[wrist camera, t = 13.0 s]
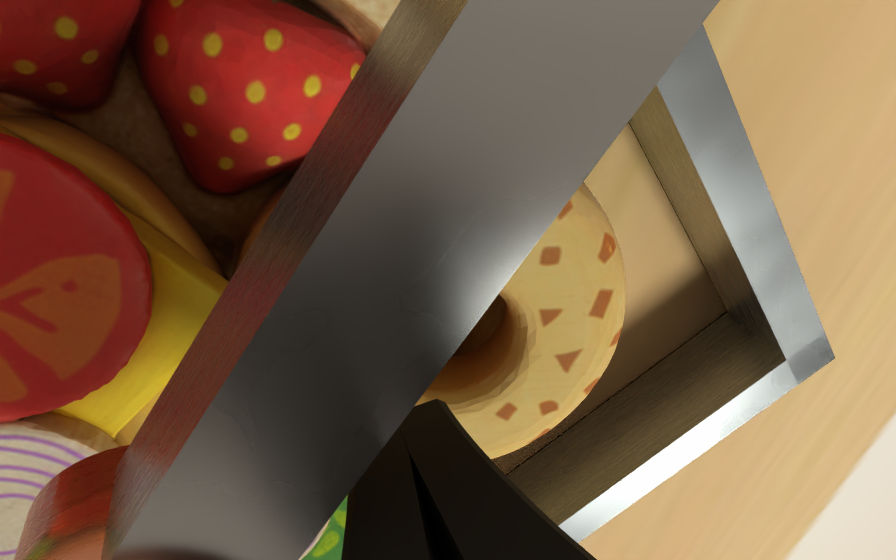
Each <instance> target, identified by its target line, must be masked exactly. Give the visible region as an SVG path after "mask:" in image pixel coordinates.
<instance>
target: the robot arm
mask: <svg viewBox="0 0 896 560" xmlns="http://www.w3.org/2000/svg"><path fill="white" fill-rule="evenodd" d="M341 560H597V559H596V558H594V557H593V556H592V555H591V554H590V553H588V552H587V551H586V550H585V549H584V548H583V547H582V546H580V545H579V544H578V543H577V542H576V541H575V540H574V539H572V538H571V537H570V536H569V535H568V534H567V533H566V532H564V531H563V530H562V529H561V528H560V527H559V526H558V525H557V524H556V523H554V522H553V521H552V520H551V519H550V518H549V517H548V516H547V515H546V514H545V513H544V512H543V511H541V510H540V509H539V508H538V507H537V506H536V505H535V504H534V503H533V502H532V501H531V500H530V499H529V498H528V497H527V496H526V495H525V494H524V493H523V492H522V491H521V490H520V489H519V488H518V487H517V486H516V485H515V484H514V483H513V482H512V481H511V480H510V479H509V478H508V477H507V476H506V475H505V474H504V473H503V472H502V471H501V470H500V469H499V468H498V467H497V466H496V465H495V463H494V462H493V461H492V460H491V459H490V458H489V457H488V456H487V455H486V453H485V452H484V451H483V450H482V449H481V448H480V447H479V446H478V444H477V443H476V442H475V441H474V440H473V439H472V437H471V436H470V435H469V434H468V433H467V431H466V430H465V429H464V428H463V426H462V425H461V424H460V422H459V421H458V420H457V418H456V417H455V416H454V414H453V413H452V412H451V410H450V409H449V407H448V406H447V404H446V402H444V401H441V400H439V399H434V400H431V401H428V402H425V403H422V404H419V405H416V406H414V407H413V408H412V410H411V411H410V412H409V414H408V415H407V416H406V418H405V419H404V420H403V422H402V423H401V424H400V426H399V427H398V428H397V430H396V431H395V432H394V434H393V435H392V436H391V438H390V439H389V440H388V442H387V443H386V444H385V446H384V447H383V448H382V450H381V451H380V452H379V454H378V455H377V456H376V458H375V459H374V460H373V462H372V463H371V464H370V466H369V467H368V468H367V470H366V471H365V472H364V474H363V475H362V476H361V478H360V479H359V480H358V482H357V483H356V484H355V486H354V487H353V488H352V490H351V491H350V492H349V493H348V497H347V512H346V522H345V531H344V540H343V548H342V557H341Z"/></svg>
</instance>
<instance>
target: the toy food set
mask: <svg viewBox="0 0 896 560" xmlns="http://www.w3.org/2000/svg"><path fill="white" fill-rule="evenodd" d="M400 1H401V0H0V560H14V557H15V554H16V551H17V547H18V544H19V541H20V537H21V534H22V531H23V527H24V524H25V521H26V518H27V514H28V511H29V509H30V507H31V505H32V503H33V501H34V499H35V498H36V496H37V495H38V494H39V492H40V491H41V490H42V489H43V488H44V487H45V485H46V484H47V483H48V482H49V481H50V480H51V479H53V478H54V477H55V476H56V475H58V474H59V473H60V472H61V471H63V470H65V469H66V468H68V467H69V466H71V465H73V464H74V463H76V462H78V461H80V460H82V459H84V458H87V457H89V456H91V455H94V454H97V453H99V452H102V451H105V450H109V449H112V448H116V447H120V446H126V445H130V444H131V442H132V441H133V439H134V437H135V436H136V434H137V432H138V431H139V429H140V427H141V426H142V424H143V422H144V421H145V419H146V418H147V416H148V414H149V413H150V411H151V409H152V408H153V406H154V404H155V403H156V401H157V400H158V398H159V396H160V395H161V393H162V391H163V390H164V388H165V386H166V385H167V383H168V381H169V380H170V378H171V377H172V375H173V373H174V372H175V370H176V368H177V367H178V365H179V363H180V362H181V360H182V358H183V357H184V355H185V354H186V352H187V350H188V349H189V347H190V345H191V344H192V342H193V340H194V339H195V337H196V335H197V334H198V332H199V331H200V329H201V327H202V326H203V324H204V322H205V321H206V319H207V317H208V316H209V314H210V313H211V311H212V309H213V308H214V306H215V304H216V303H217V301H218V299H219V298H220V296H221V294H222V293H223V291H224V290H225V288H226V286H227V285H228V283H229V281H230V280H231V278H232V276H233V275H234V273H235V271H236V270H237V268H238V267H239V265H240V263H241V262H242V260H243V258H244V257H245V255H246V253H247V252H248V250H249V248H250V247H251V245H252V244H253V242H254V240H255V239H256V237H257V235H258V234H259V232H260V230H261V229H262V227H263V225H264V224H265V222H266V221H267V219H268V217H269V216H270V214H271V212H272V211H273V209H274V207H275V206H276V204H277V203H278V201H279V199H280V198H281V196H282V194H283V193H284V191H285V189H286V188H287V186H288V184H289V183H290V181H291V180H292V178H293V176H294V175H295V173H296V171H297V170H298V168H299V166H300V165H301V163H302V161H303V160H304V158H305V157H306V155H307V153H308V152H309V150H310V148H311V147H312V145H313V143H314V142H315V140H316V138H317V137H318V135H319V134H320V132H321V130H322V129H323V127H324V125H325V124H326V122H327V120H328V119H329V117H330V116H331V114H332V112H333V111H334V109H335V107H336V106H337V104H338V102H339V101H340V99H341V97H342V96H343V94H344V93H345V91H346V89H347V88H348V86H349V84H350V83H351V81H352V79H353V78H354V76H355V74H356V73H357V71H358V70H359V68H360V66H361V65H362V63H363V61H364V60H365V58H366V56H367V55H368V53H369V51H370V50H371V48H372V47H373V45H374V43H375V42H376V40H377V38H378V37H379V35H380V33H381V32H382V30H383V28H384V27H385V25H386V24H387V22H388V20H389V19H390V17H391V15H392V14H393V12H394V10H395V9H396V7H397V6H398V4H399V2H400ZM625 307H626V280H625V271H624V265H623V260H622V255H621V250H620V247H619V244H618V242H617V239H616V236H615V234H614V231H613V228H612V226H611V224H610V222H609V220H608V217H607V215H606V214H605V212H604V211H603V209H602V207H601V206H600V204H599V203H598V201H597V200H596V198H595V197H594V196H593V194H592V193H591V191H590V190H589V189H588V187H587V186H586V185H585V183H584V182H583V183H582V184H581V185H580V187H579V188H578V189H577V191H576V192H575V193H574V195H573V196H572V197H571V199H570V200H569V201H568V203H567V204H566V205H565V207H564V208H563V209H562V211H561V212H560V213H559V214H558V216H557V217H556V218H555V220H554V221H553V222H552V224H551V225H550V226H549V228H548V229H547V230H546V232H545V233H544V234H543V236H542V237H541V238H540V240H539V241H538V242H537V244H536V245H535V246H534V248H533V249H532V250H531V252H530V253H529V254H528V256H527V257H526V258H525V260H524V261H523V262H522V264H521V265H520V266H519V268H518V269H517V270H516V272H515V273H514V274H513V276H512V277H511V278H510V280H509V281H508V282H507V284H506V285H505V286H504V288H503V289H502V290H501V292H500V293H499V294H498V296H497V297H496V298H495V300H494V301H493V302H492V304H491V305H490V306H489V307H488V309H487V310H486V311H485V313H484V314H483V315H482V317H481V318H480V319H479V321H478V322H477V323H476V325H475V326H474V327H473V329H472V330H471V331H470V333H469V334H468V335H467V337H466V338H465V339H464V341H463V342H462V343H461V345H460V346H459V347H458V349H457V350H456V351H455V353H454V354H453V355H452V357H451V358H450V359H449V361H448V362H447V363H446V365H445V366H444V367H443V369H442V370H441V371H440V373H439V374H438V375H437V377H436V378H435V379H434V381H433V382H432V383H431V385H430V386H429V387H428V389H427V390H426V391H425V393H424V394H423V395H422V397H421V398H420V399H419V400H418V402H417V403H416V404H415V406H416V405H419V404H422V403H425V402H428V401H431V400H434V399H439V400H441V401H444V402H446V404H447V406H448V407H449V409H450V410H451V412H452V413H453V414H454V416H455V417H456V418H457V420H458V421H459V422H460V424H461V425H462V426H463V428H464V429H465V430H466V431H467V433H468V434H469V435H470V436H471V437H472V439H473V440H474V441H475V442H476V443H477V444H478V446H479V447H480V448H481V449H482V450H483V451H484V452H485V453H486V455H487V456H488V457H489V458H490V459H494V458H497V457H500V456H503V455H505V454H508V453H510V452H513V451H515V450H517V449H519V448H522V447H524V446H526V445H527V444H529V443H530V442H532V441H534V440H535V439H537V438H539V437H540V436H542V435H543V434H545V433H547V432H548V431H550V430H551V429H552V428H553V427H555V426H556V425H557V424H558V423H560V422H561V421H562V420H563V419H564V418H565V417H566V416H568V415H569V414H570V413H571V412H572V411H573V410H574V409H575V408H576V407H577V406H578V405H579V404H580V403H581V402H582V401H583V400H584V399H585V398H586V396H587V395H588V394H589V392H590V391H591V390H592V388H593V387H594V386H595V384H596V383H597V382H598V380H599V379H600V377H601V376H602V374H603V373H604V371H605V369H606V368H607V366H608V364H609V362H610V360H611V358H612V356H613V354H614V352H615V349H616V346H617V343H618V340H619V336H620V333H621V329H622V326H623V322H624V315H625ZM347 497H348V495H347V496H346V497H345V499H344V500H343V501H342V503H341V504H340V505H339V507H338V508H337V509H336V511H335V512H334V513H333V515H332V516H331V517H330V519H329V520H328V521H327V523H326V524H325V525H324V527H323V528H322V529H321V531H320V532H319V533H318V535H317V536H316V537H315V539H314V540H313V541H312V543H311V544H310V545H309V547H308V548H307V549H306V551H305V552H304V553H303V555H302V556H301V557H300V559H299V560H341V557H342V548H343V540H344V531H345V522H346V512H347Z"/></svg>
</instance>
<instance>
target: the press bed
mask: <svg viewBox="0 0 896 560" xmlns="http://www.w3.org/2000/svg"><path fill="white" fill-rule="evenodd" d="M629 123H630V125H631V127H632V129H633V131H634V133H635V135H636V137H637V138H638V140H639V142H640V144H641V146H642V148H643V150H644V152H645V154H646V156H647V158H648V160H649V161H650V163H651V165H652V167H653V169H654V171H655V173H656V175H657V177H658V179H659V181H660V182H661V184H662V186H663V188H664V190H665V192H666V194H667V196H668V198H669V200H670V202H671V204H672V205H673V207H674V209H675V211H676V213H677V215H678V217H679V219H680V221H681V223H682V225H683V226H684V228H685V230H686V232H687V234H688V236H689V238H690V240H691V242H692V244H693V246H694V248H695V249H696V251H697V253H698V255H699V257H700V259H701V261H702V263H703V265H704V267H705V269H706V270H707V272H708V274H709V276H710V278H711V280H712V282H713V284H714V286H715V288H716V290H717V292H718V293H719V295H720V297H721V299H722V301H723V303H724V305H725V307H726V309H727V311H728V312H727V313H726V314H724V315H723V316H722V317H720V318H719V319H718V320H716V321H715V322H714V323H712V324H711V325H710V326H708V327H707V328H705V329H704V330H703V331H701V332H700V333H699V334H697V335H696V336H695V337H693V338H692V339H691V340H689V341H688V342H687V343H685V344H684V345H683V346H681V347H680V348H678V349H677V350H676V351H674V352H673V353H672V354H670V355H669V356H668V357H666V358H665V359H664V360H662V361H661V362H660V363H658V364H657V365H655V366H654V367H653V368H651V369H650V370H649V371H647V372H646V373H645V374H643V375H642V376H641V377H639V378H638V379H637V380H635V381H634V382H632V383H631V384H630V385H628V386H627V387H626V388H624V389H623V390H622V391H620V392H619V393H618V394H616V395H615V396H614V397H612V398H611V399H610V400H608V401H607V402H605V403H604V404H603V405H601V406H600V407H599V408H597V409H596V410H595V411H593V412H592V413H591V414H589V415H588V416H587V417H585V418H584V419H582V420H581V421H580V422H578V423H577V424H576V425H574V426H573V427H572V428H570V429H569V430H568V431H566V432H565V433H564V434H562V435H561V436H560V437H558V438H557V439H555V440H554V441H553V442H551V443H550V444H549V445H547V446H546V447H545V448H543V449H542V450H541V451H539V452H538V453H537V454H535V455H534V456H532V457H531V458H530V459H528V460H527V461H526V462H524V463H523V464H522V465H520V466H519V467H518V468H516V469H515V470H514V471H512V472H511V473H509V474H508V475H507V477H508V478H509V479H510V480H511V481H512V482H513V483H514V484H515V485H516V486H517V487H518V488H519V489H520V490H521V491H522V492H523V493H524V494H525V495H526V496H527V497H528V498H529V499H530V500H531V501H532V502H533V503H534V504H535V505H536V506H537V507H538V508H539V509H540V510H541V511H543V512H544V513H545V514H546V515H547V516H548V517H549V518H550V519H551V520H552V521H553V522H554V523H556V524H557V525H558V526H559V527H560V528H561V529H562V530H563V531H564V532H566V533H567V534H568V535H569V536H570V537H571V538H572V539H574V540H575V541H576V542H577V543H579V542H580V541H582V540H583V539H584V538H586V537H587V536H589V535H590V534H591V533H593V532H594V531H596V530H597V529H598V528H600V527H601V526H602V525H604V524H605V523H607V522H608V521H609V520H611V519H612V518H614V517H615V516H616V515H618V514H619V513H621V512H622V511H623V510H625V509H626V508H627V507H629V506H630V505H632V504H633V503H634V502H636V501H637V500H639V499H640V498H641V497H643V496H644V495H646V494H647V493H648V492H650V491H651V490H653V489H654V488H655V487H657V486H658V485H659V484H661V483H662V482H664V481H665V480H666V479H668V478H669V477H671V476H672V475H673V474H675V473H676V472H678V471H679V470H680V469H682V468H683V467H684V466H686V465H687V464H689V463H690V462H691V461H693V460H694V459H696V458H697V457H698V456H700V455H701V454H703V453H704V452H705V451H707V450H708V449H709V448H711V447H712V446H714V445H715V444H716V443H718V442H719V441H721V440H722V439H723V438H725V437H726V436H728V435H729V434H730V433H732V432H733V431H734V430H736V429H737V428H739V427H740V426H741V425H743V424H744V423H746V422H747V421H748V420H750V419H751V418H753V417H754V416H755V415H757V414H758V413H759V412H761V411H762V410H764V409H765V408H766V407H768V406H769V405H771V404H772V403H773V402H775V401H776V400H778V399H779V398H780V397H782V396H783V395H785V394H786V393H787V392H789V391H790V390H791V389H793V388H794V387H796V386H797V385H798V384H800V383H801V382H803V381H804V380H805V379H807V378H808V377H810V376H811V375H812V374H814V373H815V372H816V371H818V370H819V369H821V368H822V367H823V366H825V365H826V364H828V363H829V362H830V361H832V360H833V359H835V356H834V354H833V351H832V349H831V346H830V344H829V341H828V339H827V336H826V334H825V331H824V329H823V326H822V324H821V321H820V319H819V316H818V314H817V311H816V309H815V306H814V304H813V301H812V298H811V296H810V293H809V291H808V288H807V286H806V283H805V281H804V278H803V276H802V273H801V271H800V268H799V266H798V263H797V261H796V258H795V256H794V253H793V251H792V248H791V245H790V243H789V240H788V238H787V235H786V233H785V230H784V228H783V225H782V223H781V220H780V218H779V215H778V213H777V210H776V208H775V205H774V203H773V200H772V198H771V195H770V192H769V190H768V187H767V185H766V182H765V180H764V177H763V175H762V172H761V170H760V167H759V165H758V162H757V160H756V157H755V155H754V152H753V150H752V147H751V145H750V142H749V140H748V137H747V134H746V132H745V129H744V127H743V124H742V122H741V119H740V117H739V114H738V112H737V109H736V107H735V104H734V102H733V99H732V97H731V94H730V92H729V89H728V87H727V84H726V81H725V79H724V76H723V74H722V71H721V69H720V66H719V64H718V61H717V59H716V56H715V54H714V51H713V49H712V46H711V44H710V41H709V39H708V36H707V34H706V31H705V28H704V26H703V23H702V25H701V26H700V27H699V28H698V30H697V31H696V32H695V34H694V35H693V36H692V38H691V39H690V40H689V42H688V43H687V44H686V46H685V47H684V48H683V50H682V51H681V52H680V54H679V55H678V56H677V58H676V59H675V60H674V62H673V63H672V64H671V66H670V67H669V68H668V70H667V71H666V72H665V74H664V75H663V76H662V78H661V79H660V80H659V82H658V83H657V84H656V86H655V87H654V88H653V90H652V91H651V92H650V94H649V95H648V96H647V98H646V99H645V100H644V102H643V103H642V104H641V106H640V107H639V108H638V110H637V111H636V112H635V114H634V115H633V116H632V118H631V119H630V120H629Z"/></svg>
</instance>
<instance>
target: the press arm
mask: <svg viewBox="0 0 896 560" xmlns="http://www.w3.org/2000/svg"><path fill="white" fill-rule="evenodd" d="M719 1H720V0H401V1H400V2H399V4H398V6H397V7H396V9H395V10H394V12H393V14H392V15H391V17H390V19H389V20H388V22H387V24H386V25H385V27H384V28H383V30H382V32H381V33H380V35H379V37H378V38H377V40H376V42H375V43H374V45H373V47H372V48H371V50H370V51H369V53H368V55H367V56H366V58H365V60H364V61H363V63H362V65H361V66H360V68H359V70H358V71H357V73H356V74H355V76H354V78H353V79H352V81H351V83H350V84H349V86H348V88H347V89H346V91H345V93H344V94H343V96H342V97H341V99H340V101H339V102H338V104H337V106H336V107H335V109H334V111H333V112H332V114H331V116H330V117H329V119H328V120H327V122H326V124H325V125H324V127H323V129H322V130H321V132H320V134H319V135H318V137H317V138H316V140H315V142H314V143H313V145H312V147H311V148H310V150H309V152H308V153H307V155H306V157H305V158H304V160H303V161H302V163H301V165H300V166H299V168H298V170H297V171H296V173H295V175H294V176H293V178H292V180H291V181H290V183H289V184H288V186H287V188H286V189H285V191H284V193H283V194H282V196H281V198H280V199H279V201H278V203H277V204H276V206H275V207H274V209H273V211H272V212H271V214H270V216H269V217H268V219H267V221H266V222H265V224H264V225H263V227H262V229H261V230H260V232H259V234H258V235H257V237H256V239H255V240H254V242H253V244H252V245H251V247H250V248H249V250H248V252H247V253H246V255H245V257H244V258H243V260H242V262H241V263H240V265H239V267H238V268H237V270H236V271H235V273H234V275H233V276H232V278H231V280H230V281H229V283H228V285H227V286H226V288H225V290H224V291H223V293H222V294H221V296H220V298H219V299H218V301H217V303H216V304H215V306H214V308H213V309H212V311H211V313H210V314H209V316H208V317H207V319H206V321H205V322H204V324H203V326H202V327H201V329H200V331H199V332H198V334H197V335H196V337H195V339H194V340H193V342H192V344H191V345H190V347H189V349H188V350H187V352H186V354H185V355H184V357H183V358H182V360H181V362H180V363H179V365H178V367H177V368H176V370H175V372H174V373H173V375H172V377H171V378H170V380H169V381H168V383H167V385H166V386H165V388H164V390H163V391H162V393H161V395H160V396H159V398H158V400H157V401H156V403H155V404H154V406H153V408H152V409H151V411H150V413H149V414H148V416H147V418H146V419H145V421H144V422H143V424H142V426H141V427H140V429H139V431H138V432H137V434H136V436H135V437H134V439H133V441H132V442H131V444H130V445H126V446H120V447H116V448H112V449H109V450H105V451H102V452H99V453H97V454H94V455H91V456H89V457H87V458H84V459H82V460H80V461H78V462H76V463H74V464H73V465H71V466H69V467H68V468H66V469H65V470H63V471H61V472H60V473H59V474H58V475H56V476H55V477H54V478H53V479H51V480H50V481H49V482H48V483H47V484H46V485H45V487H44V488H43V489H42V490H41V491H40V492H39V494H38V495H37V496H36V498H35V499H34V501H33V503H32V505H31V507H30V509H29V511H28V514H27V518H26V521H25V524H24V527H23V531H22V534H21V537H20V541H19V544H18V547H17V551H16V554H15V557H14V560H299V559H300V557H301V556H302V555H303V553H304V552H305V551H306V549H307V548H308V547H309V545H310V544H311V543H312V541H313V540H314V539H315V537H316V536H317V535H318V533H319V532H320V531H321V529H322V528H323V527H324V525H325V524H326V523H327V521H328V520H329V519H330V517H331V516H332V515H333V513H334V512H335V511H336V509H337V508H338V507H339V505H340V504H341V503H342V501H343V500H344V499H345V497H346V496H347V495H348V493H349V492H350V491H351V490H352V488H353V487H354V486H355V484H356V483H357V482H358V480H359V479H360V478H361V476H362V475H363V474H364V472H365V471H366V470H367V468H368V467H369V466H370V464H371V463H372V462H373V460H374V459H375V458H376V456H377V455H378V454H379V452H380V451H381V450H382V448H383V447H384V446H385V444H386V443H387V442H388V440H389V439H390V438H391V436H392V435H393V434H394V432H395V431H396V430H397V428H398V427H399V426H400V424H401V423H402V422H403V420H404V419H405V418H406V416H407V415H408V414H409V412H410V411H411V410H412V408H413V407H414V406H415V404H416V403H417V402H418V400H419V399H420V398H421V397H422V395H423V394H424V393H425V391H426V390H427V389H428V387H429V386H430V385H431V383H432V382H433V381H434V379H435V378H436V377H437V375H438V374H439V373H440V371H441V370H442V369H443V367H444V366H445V365H446V363H447V362H448V361H449V359H450V358H451V357H452V355H453V354H454V353H455V351H456V350H457V349H458V347H459V346H460V345H461V343H462V342H463V341H464V339H465V338H466V337H467V335H468V334H469V333H470V331H471V330H472V329H473V327H474V326H475V325H476V323H477V322H478V321H479V319H480V318H481V317H482V315H483V314H484V313H485V311H486V310H487V309H488V307H489V306H490V305H491V304H492V302H493V301H494V300H495V298H496V297H497V296H498V294H499V293H500V292H501V290H502V289H503V288H504V286H505V285H506V284H507V282H508V281H509V280H510V278H511V277H512V276H513V274H514V273H515V272H516V270H517V269H518V268H519V266H520V265H521V264H522V262H523V261H524V260H525V258H526V257H527V256H528V254H529V253H530V252H531V250H532V249H533V248H534V246H535V245H536V244H537V242H538V241H539V240H540V238H541V237H542V236H543V234H544V233H545V232H546V230H547V229H548V228H549V226H550V225H551V224H552V222H553V221H554V220H555V218H556V217H557V216H558V214H559V213H560V212H561V211H562V209H563V208H564V207H565V205H566V204H567V203H568V201H569V200H570V199H571V197H572V196H573V195H574V193H575V192H576V191H577V189H578V188H579V187H580V185H581V184H582V183H583V181H584V180H585V179H586V177H587V176H588V175H589V173H590V172H591V171H592V169H593V168H594V167H595V165H596V164H597V163H598V161H599V160H600V159H601V157H602V156H603V155H604V153H605V152H606V151H607V149H608V148H609V147H610V145H611V144H612V143H613V141H614V140H615V139H616V137H617V136H618V135H619V133H620V132H621V131H622V129H623V128H624V127H625V125H626V124H627V123H628V121H629V120H630V119H631V118H632V116H633V115H634V114H635V112H636V111H637V110H638V108H639V107H640V106H641V104H642V103H643V102H644V100H645V99H646V98H647V96H648V95H649V94H650V92H651V91H652V90H653V88H654V87H655V86H656V84H657V83H658V82H659V80H660V79H661V78H662V76H663V75H664V74H665V72H666V71H667V70H668V68H669V67H670V66H671V64H672V63H673V62H674V60H675V59H676V58H677V56H678V55H679V54H680V52H681V51H682V50H683V48H684V47H685V46H686V44H687V43H688V42H689V40H690V39H691V38H692V36H693V35H694V34H695V32H696V31H697V30H698V28H699V27H700V26H701V25H702V23H703V22H704V21H705V19H706V18H707V17H708V15H709V14H710V13H711V11H712V10H713V9H714V7H715V6H716V5H717V3H718V2H719Z"/></svg>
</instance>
